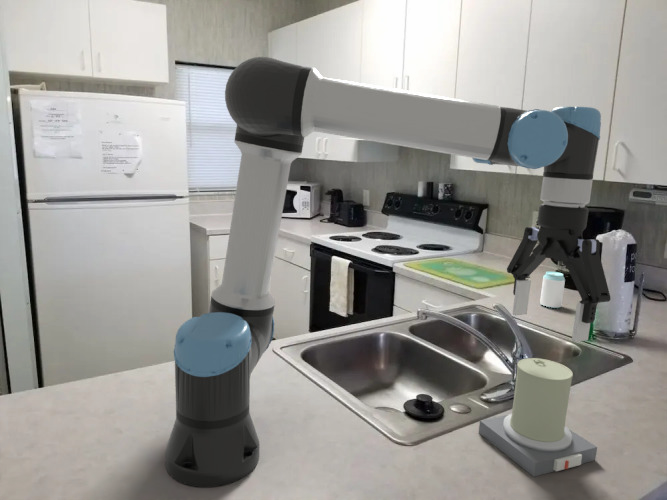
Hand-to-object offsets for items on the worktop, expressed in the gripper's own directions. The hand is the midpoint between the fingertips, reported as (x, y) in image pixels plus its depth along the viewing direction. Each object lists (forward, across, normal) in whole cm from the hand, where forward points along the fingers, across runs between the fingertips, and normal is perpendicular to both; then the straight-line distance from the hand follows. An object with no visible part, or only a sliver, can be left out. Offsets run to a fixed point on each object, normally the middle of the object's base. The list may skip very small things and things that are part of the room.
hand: (547, 326), depth 89 cm
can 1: (+23, +67, -72) cm, 101 cm away
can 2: (+19, 0, 0) cm, 19 cm away
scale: (+23, 0, 0) cm, 23 cm away
